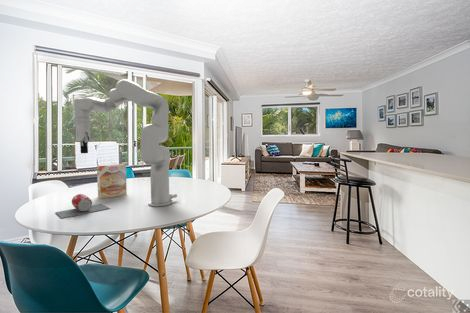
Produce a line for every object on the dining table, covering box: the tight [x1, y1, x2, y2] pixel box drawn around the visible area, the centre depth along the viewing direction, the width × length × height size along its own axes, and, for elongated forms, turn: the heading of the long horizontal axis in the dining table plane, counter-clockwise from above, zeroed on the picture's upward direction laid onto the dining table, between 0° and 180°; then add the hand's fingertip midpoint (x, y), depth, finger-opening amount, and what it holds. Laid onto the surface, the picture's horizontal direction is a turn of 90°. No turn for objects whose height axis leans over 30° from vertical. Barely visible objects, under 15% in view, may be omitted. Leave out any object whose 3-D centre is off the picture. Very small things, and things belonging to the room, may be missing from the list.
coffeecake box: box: [96, 163, 127, 199], centre depth 145 cm, size 15×7×20 cm, turn 132°
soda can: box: [71, 193, 93, 212], centre depth 114 cm, size 7×7×12 cm
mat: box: [55, 203, 111, 219], centre depth 114 cm, size 20×12×1 cm, turn 138°
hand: (84, 153), depth 134 cm, fingers closed
